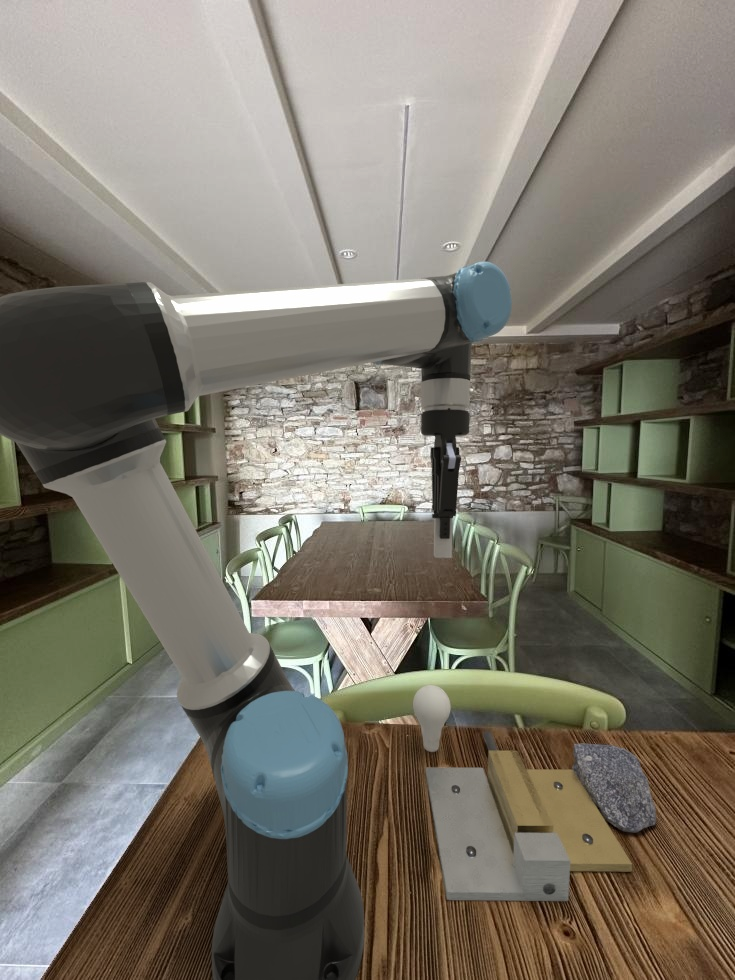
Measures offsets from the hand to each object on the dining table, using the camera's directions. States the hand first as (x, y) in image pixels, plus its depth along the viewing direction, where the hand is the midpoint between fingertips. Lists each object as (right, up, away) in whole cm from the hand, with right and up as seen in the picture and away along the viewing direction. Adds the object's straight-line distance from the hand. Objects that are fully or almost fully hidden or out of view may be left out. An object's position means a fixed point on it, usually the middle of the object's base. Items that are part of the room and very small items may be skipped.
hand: (442, 556), depth 66 cm
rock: (+24, -34, -8) cm, 42 cm away
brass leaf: (+12, -34, -11) cm, 38 cm away
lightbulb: (-2, -33, +1) cm, 33 cm away
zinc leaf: (+3, -34, -9) cm, 35 cm away
